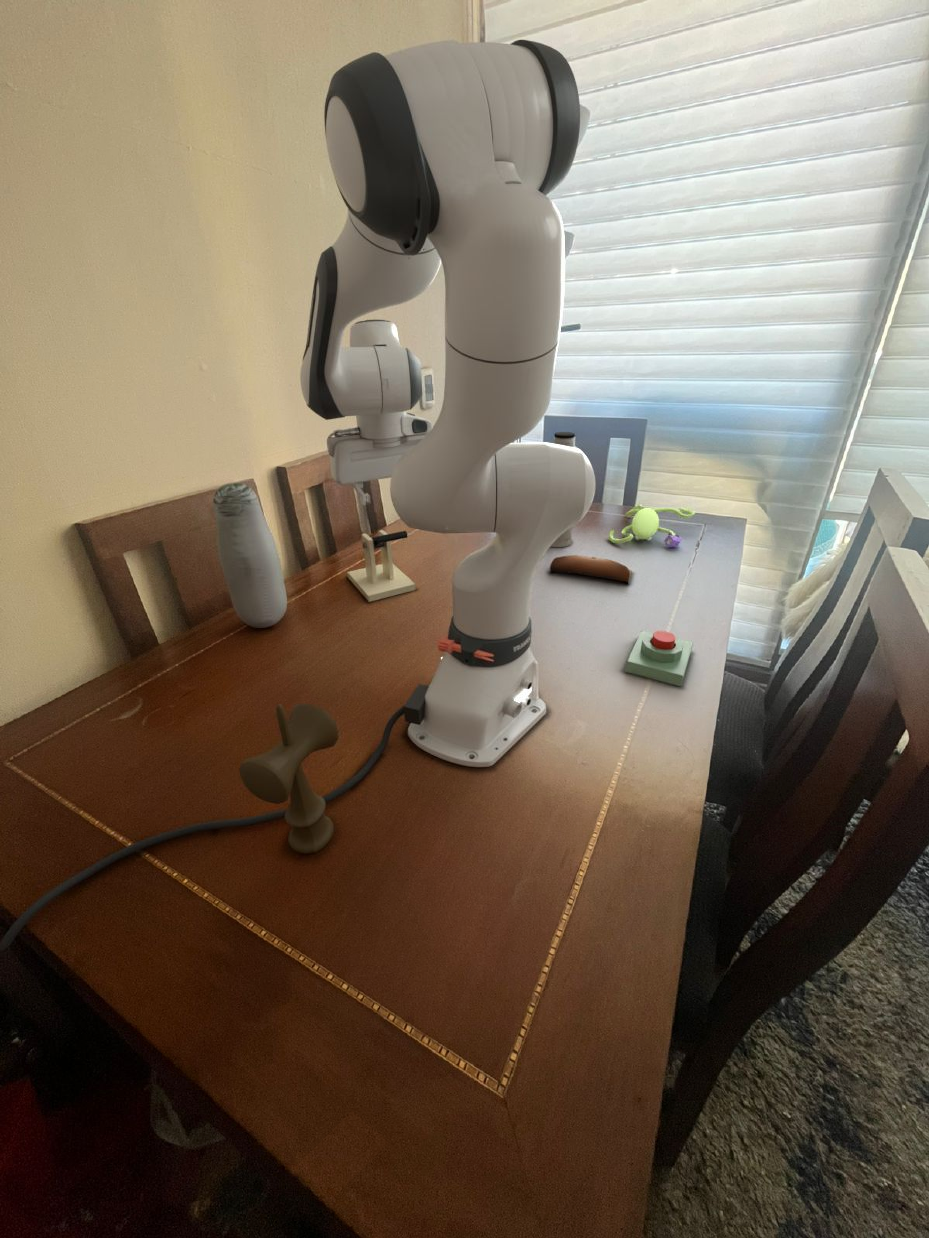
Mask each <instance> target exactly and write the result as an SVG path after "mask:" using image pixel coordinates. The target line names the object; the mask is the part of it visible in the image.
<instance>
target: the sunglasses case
mask: <svg viewBox="0 0 929 1238" xmlns="http://www.w3.org/2000/svg"><path fill="white" fill-rule="evenodd" d="M549 572H550V573H552V572H553V573H554V572H555V573H565V574H579V575H584V576H589V577H597V578H602V579H608V580H615V581H622V582H626V583H627V584H628V585H629V584H630V581H631V577H632V570H631V569H629V568H628V567H627V566H626V565H624V564H622V563H619V562H618V561H615V560H612V559H609V558H607V559H606V558H598V557H595V556H584V555H579V554H578V555H577V554H574V555H573V554H572V555H571V554H570V555H561V556H558V557H557V556H556V557H554V558H553V560H552V561H551V563H550V567H549Z"/></svg>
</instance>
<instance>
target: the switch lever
mask: <svg viewBox="0 0 929 1238" xmlns="http://www.w3.org/2000/svg"><path fill="white" fill-rule="evenodd" d="M370 538H371V539H373V546H374V550H376V549H381V547H384V543H385V542H389V541H391V542H392V541H397V540H402V539H403V540H404V539H407V538H408V532H407V530H402V531H401V530H400V531H397V532H392V533H387V534H386V535H382V536H379V535H377V536H373V537H370Z"/></svg>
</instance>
